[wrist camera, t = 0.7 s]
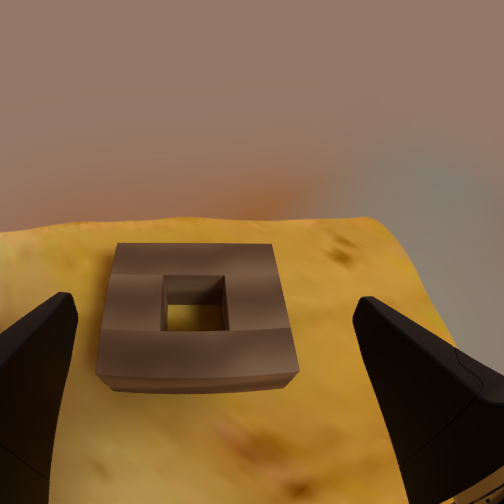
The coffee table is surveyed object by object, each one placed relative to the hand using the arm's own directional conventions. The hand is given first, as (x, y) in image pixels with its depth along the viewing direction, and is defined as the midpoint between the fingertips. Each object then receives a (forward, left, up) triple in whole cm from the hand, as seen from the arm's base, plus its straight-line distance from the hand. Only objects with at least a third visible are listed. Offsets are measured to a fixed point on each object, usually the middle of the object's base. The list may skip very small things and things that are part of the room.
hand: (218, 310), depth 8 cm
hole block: (+6, +4, -16) cm, 18 cm away
